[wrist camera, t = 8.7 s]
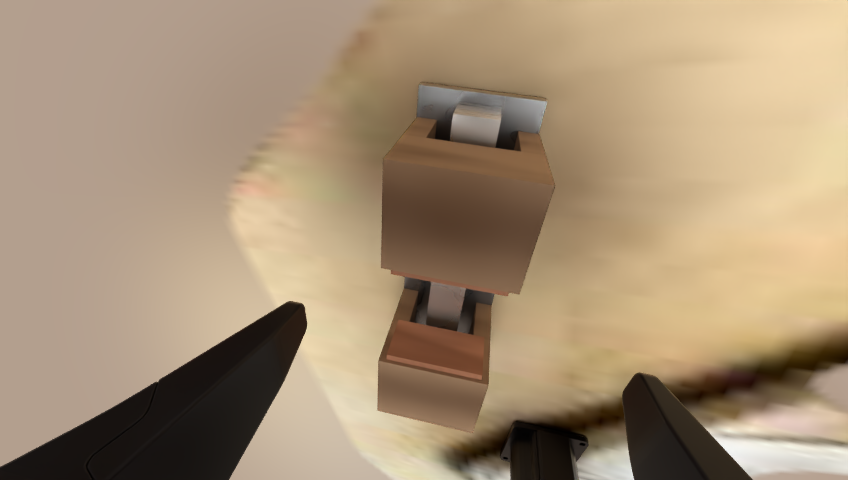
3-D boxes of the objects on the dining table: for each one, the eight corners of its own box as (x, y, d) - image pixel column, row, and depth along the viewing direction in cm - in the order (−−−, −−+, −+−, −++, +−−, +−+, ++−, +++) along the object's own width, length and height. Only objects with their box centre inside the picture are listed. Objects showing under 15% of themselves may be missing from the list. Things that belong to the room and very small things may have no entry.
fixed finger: (478, 352, 26) (472, 433, 21) (400, 336, 26) (377, 410, 22) (492, 301, 23) (490, 380, 18) (404, 283, 23) (378, 356, 18)
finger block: (513, 228, 20) (517, 301, 15) (410, 211, 20) (381, 274, 15) (539, 134, 16) (555, 185, 12) (417, 116, 17) (383, 158, 12)
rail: (478, 344, 26) (476, 381, 24) (403, 328, 27) (392, 362, 24) (545, 98, 16) (553, 114, 14) (421, 82, 17) (407, 95, 14)
